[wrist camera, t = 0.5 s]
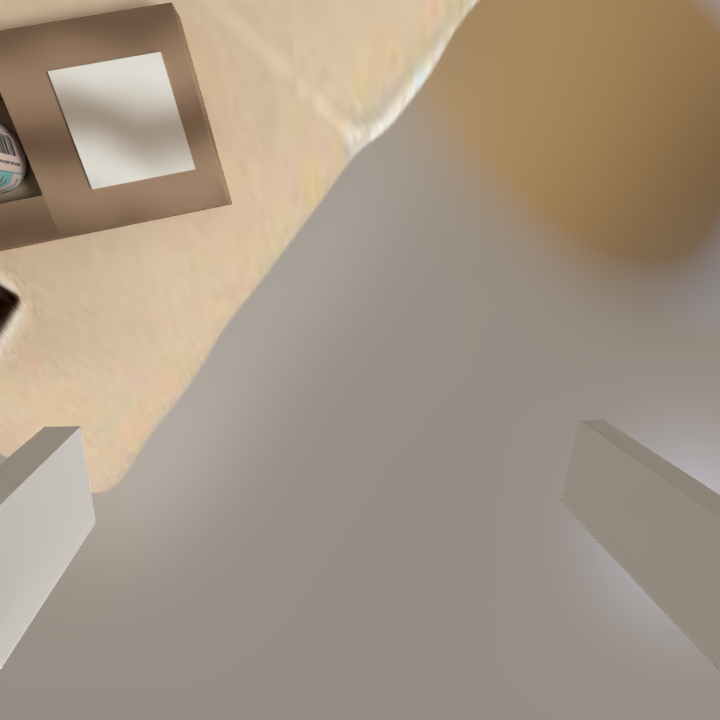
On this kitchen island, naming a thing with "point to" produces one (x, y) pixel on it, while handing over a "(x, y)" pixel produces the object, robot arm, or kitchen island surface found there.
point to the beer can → (10, 161)
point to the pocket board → (106, 125)
